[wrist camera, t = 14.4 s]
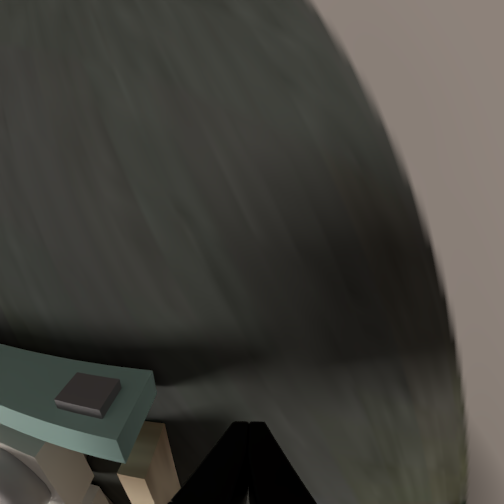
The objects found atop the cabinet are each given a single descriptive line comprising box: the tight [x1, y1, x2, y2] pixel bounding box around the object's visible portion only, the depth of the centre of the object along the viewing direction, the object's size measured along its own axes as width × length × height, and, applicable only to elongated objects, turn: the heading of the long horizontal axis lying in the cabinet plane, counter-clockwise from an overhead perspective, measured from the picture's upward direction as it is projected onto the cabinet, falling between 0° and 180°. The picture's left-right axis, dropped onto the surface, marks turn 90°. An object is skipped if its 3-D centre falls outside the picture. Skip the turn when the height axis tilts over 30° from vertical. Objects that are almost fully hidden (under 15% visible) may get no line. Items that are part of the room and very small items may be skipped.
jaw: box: [0, 423, 94, 504], centre depth 9 cm, size 4×4×5 cm
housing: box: [83, 421, 181, 504], centre depth 11 cm, size 12×14×3 cm
